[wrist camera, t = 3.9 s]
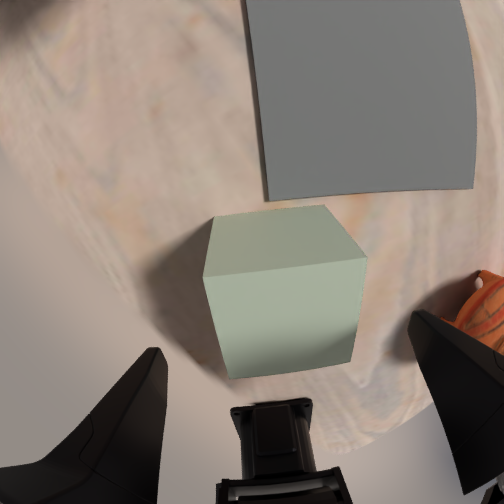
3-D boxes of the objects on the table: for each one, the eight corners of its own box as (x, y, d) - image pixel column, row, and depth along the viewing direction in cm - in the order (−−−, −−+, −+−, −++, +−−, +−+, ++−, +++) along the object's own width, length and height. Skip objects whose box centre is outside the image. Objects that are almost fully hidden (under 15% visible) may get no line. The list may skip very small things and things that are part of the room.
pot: (431, 360, 19) (464, 412, 12) (418, 286, 17) (467, 336, 11) (498, 316, 17) (539, 355, 11) (493, 240, 16) (550, 269, 9)
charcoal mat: (470, 187, 12) (472, 188, 12) (268, 199, 12) (269, 201, 12) (455, -4, 6) (458, -5, 6) (238, -45, 7) (238, -47, 6)
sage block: (322, 292, 15) (350, 361, 10) (230, 303, 15) (229, 379, 11) (323, 204, 13) (367, 257, 8) (214, 216, 13) (202, 277, 8)
